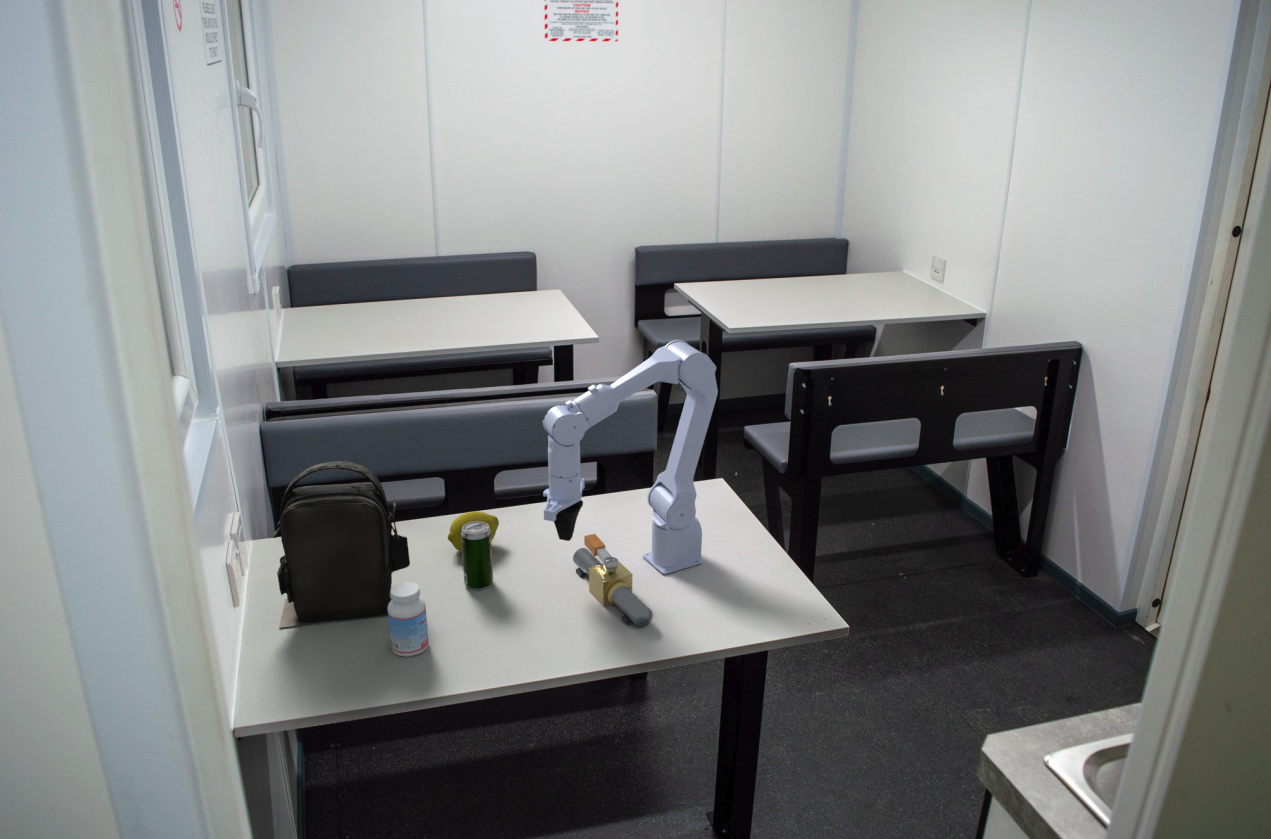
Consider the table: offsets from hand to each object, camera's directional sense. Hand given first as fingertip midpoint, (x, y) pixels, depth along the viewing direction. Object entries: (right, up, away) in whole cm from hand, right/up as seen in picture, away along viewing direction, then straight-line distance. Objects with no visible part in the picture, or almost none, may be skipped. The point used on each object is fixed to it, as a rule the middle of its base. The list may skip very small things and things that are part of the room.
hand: (565, 538), depth 166 cm
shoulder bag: (-38, -12, -5) cm, 40 cm away
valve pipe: (+8, -10, 0) cm, 13 cm away
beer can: (-16, -9, +2) cm, 19 cm away
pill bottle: (-25, -16, -16) cm, 34 cm away
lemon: (-19, -4, +15) cm, 25 cm away
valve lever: (+7, -4, +1) cm, 8 cm away
